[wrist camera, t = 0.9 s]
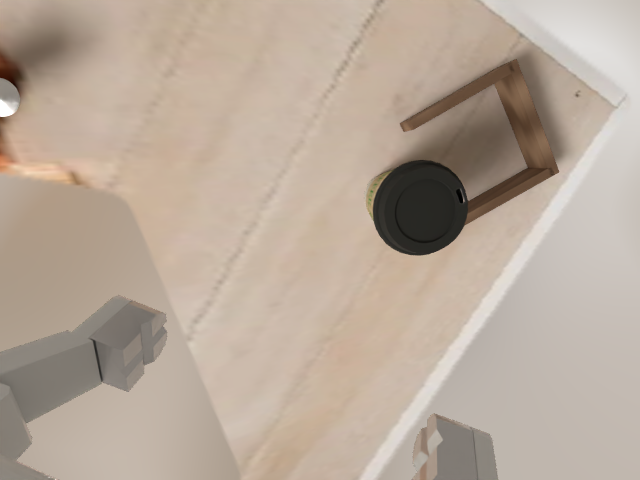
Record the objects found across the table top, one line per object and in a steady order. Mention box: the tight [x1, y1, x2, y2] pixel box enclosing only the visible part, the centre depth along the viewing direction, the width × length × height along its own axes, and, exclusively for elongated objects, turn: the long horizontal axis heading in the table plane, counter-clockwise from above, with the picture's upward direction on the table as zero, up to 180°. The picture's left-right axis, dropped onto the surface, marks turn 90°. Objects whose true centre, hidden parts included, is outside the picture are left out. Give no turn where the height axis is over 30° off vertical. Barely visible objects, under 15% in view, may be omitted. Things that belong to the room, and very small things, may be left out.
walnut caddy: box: [400, 59, 559, 225], centre depth 48 cm, size 15×15×4 cm
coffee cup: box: [364, 160, 468, 255], centre depth 43 cm, size 10×10×15 cm
